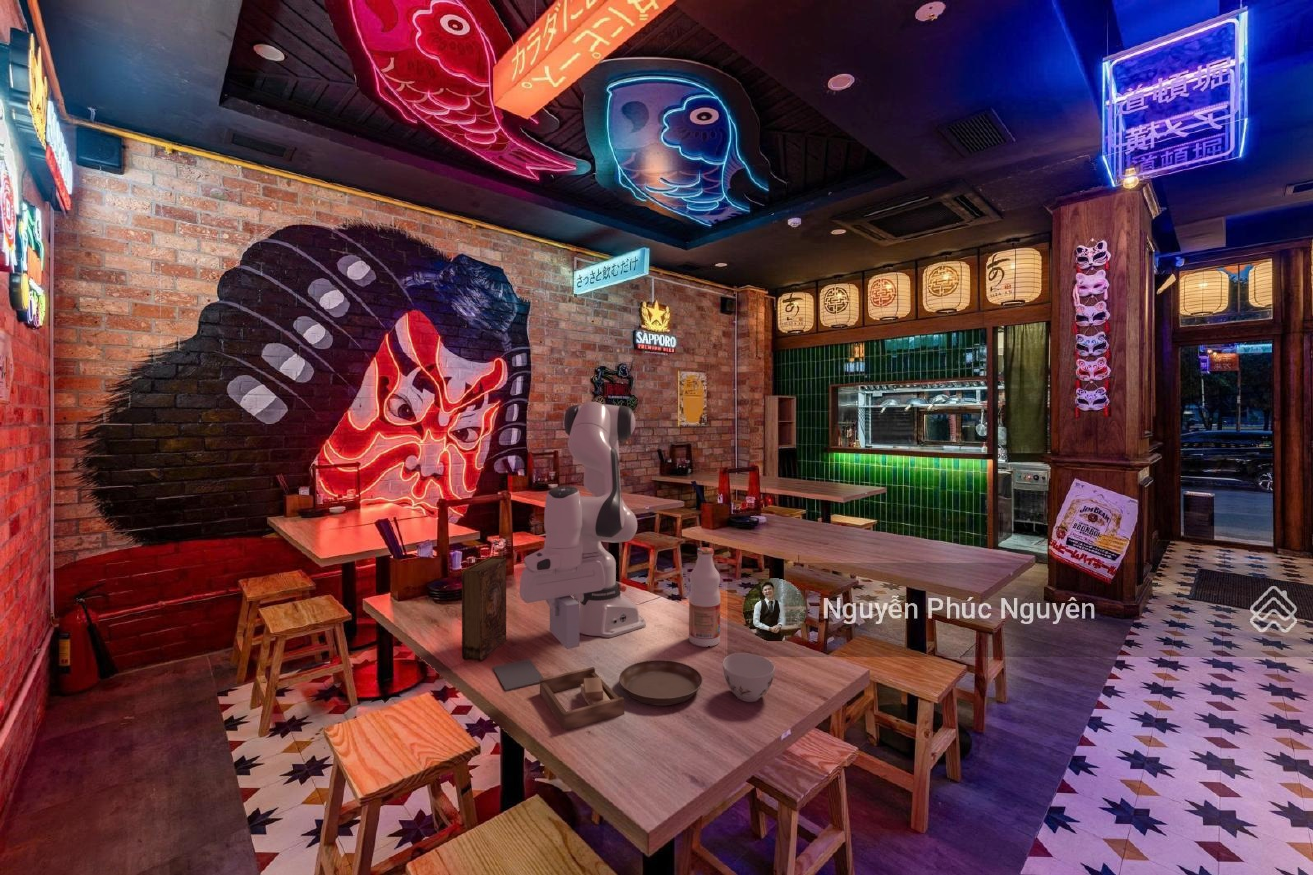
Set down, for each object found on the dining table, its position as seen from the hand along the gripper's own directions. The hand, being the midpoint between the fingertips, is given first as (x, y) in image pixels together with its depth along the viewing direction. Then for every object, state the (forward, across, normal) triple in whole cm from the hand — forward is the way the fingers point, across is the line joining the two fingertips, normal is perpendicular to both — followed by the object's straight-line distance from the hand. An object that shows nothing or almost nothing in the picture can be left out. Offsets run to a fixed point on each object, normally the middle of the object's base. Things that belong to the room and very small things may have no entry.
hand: (563, 614), depth 128 cm
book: (+21, +10, -37) cm, 44 cm away
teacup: (+21, -40, +20) cm, 50 cm away
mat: (+21, +6, -17) cm, 28 cm away
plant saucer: (+21, -22, +7) cm, 32 cm away
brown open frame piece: (+20, -3, +4) cm, 21 cm away
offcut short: (+18, -6, +4) cm, 20 cm away
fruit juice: (+21, -49, -12) cm, 54 cm away
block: (+6, 0, 0) cm, 6 cm away
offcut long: (+21, -6, +4) cm, 22 cm away
